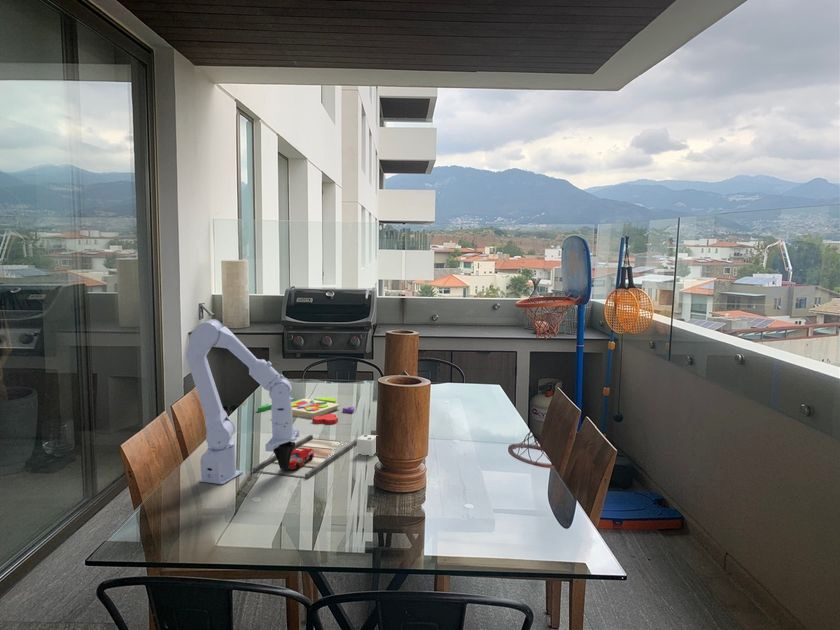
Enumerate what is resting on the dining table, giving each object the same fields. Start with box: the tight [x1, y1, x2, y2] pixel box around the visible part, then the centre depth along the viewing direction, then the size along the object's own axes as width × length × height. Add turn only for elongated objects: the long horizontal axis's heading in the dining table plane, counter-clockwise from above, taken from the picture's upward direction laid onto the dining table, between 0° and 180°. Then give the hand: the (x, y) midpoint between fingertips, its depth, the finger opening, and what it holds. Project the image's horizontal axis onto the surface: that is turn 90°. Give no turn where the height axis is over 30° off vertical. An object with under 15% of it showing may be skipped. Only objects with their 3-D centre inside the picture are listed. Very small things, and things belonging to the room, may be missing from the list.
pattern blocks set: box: [257, 396, 355, 425], centre depth 245 cm, size 38×34×3 cm
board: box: [252, 434, 358, 480], centre depth 191 cm, size 33×18×1 cm, turn 161°
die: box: [356, 434, 377, 457], centre depth 193 cm, size 5×5×5 cm
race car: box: [287, 447, 314, 471], centre depth 184 cm, size 13×5×4 cm, turn 159°
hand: (284, 468), depth 177 cm, fingers closed
